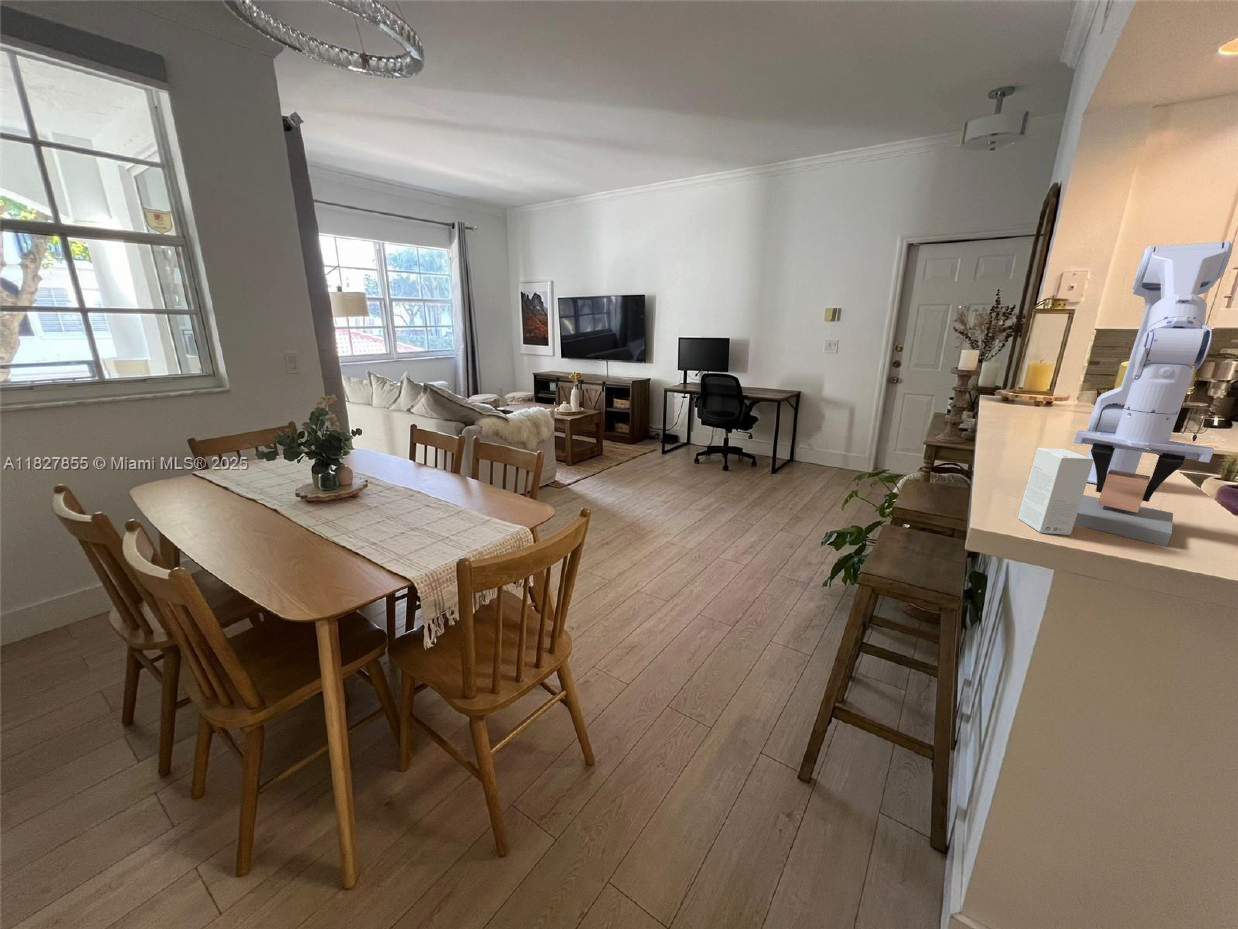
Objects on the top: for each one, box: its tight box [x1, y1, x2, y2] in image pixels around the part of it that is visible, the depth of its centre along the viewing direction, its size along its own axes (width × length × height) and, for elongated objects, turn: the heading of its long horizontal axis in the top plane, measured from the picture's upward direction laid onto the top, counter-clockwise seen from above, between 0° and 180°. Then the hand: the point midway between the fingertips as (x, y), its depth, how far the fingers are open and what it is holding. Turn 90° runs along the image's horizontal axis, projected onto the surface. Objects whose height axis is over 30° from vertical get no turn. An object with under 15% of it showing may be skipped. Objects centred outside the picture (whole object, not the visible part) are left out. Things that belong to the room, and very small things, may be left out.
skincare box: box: [1017, 447, 1094, 536], centre depth 73 cm, size 6×4×12 cm
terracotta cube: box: [1098, 469, 1151, 513], centre depth 76 cm, size 4×4×5 cm
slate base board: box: [1074, 494, 1174, 547], centre depth 76 cm, size 12×12×2 cm
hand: (1121, 495), depth 76 cm, fingers open, 4 cm apart
